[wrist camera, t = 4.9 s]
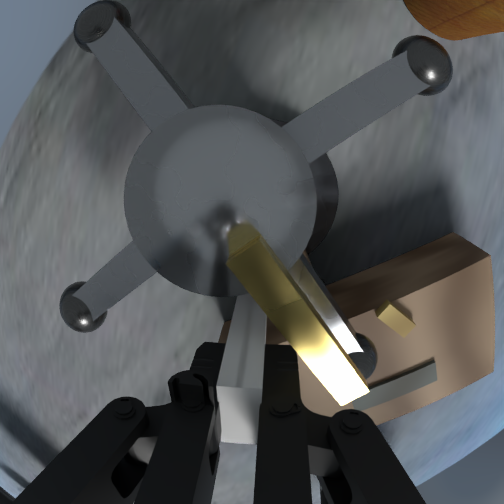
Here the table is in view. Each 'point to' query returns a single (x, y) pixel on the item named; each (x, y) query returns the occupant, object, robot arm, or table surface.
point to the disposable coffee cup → (459, 17)
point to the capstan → (241, 195)
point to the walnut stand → (412, 328)
